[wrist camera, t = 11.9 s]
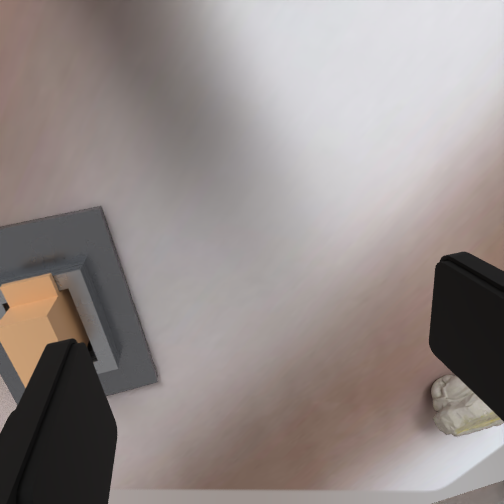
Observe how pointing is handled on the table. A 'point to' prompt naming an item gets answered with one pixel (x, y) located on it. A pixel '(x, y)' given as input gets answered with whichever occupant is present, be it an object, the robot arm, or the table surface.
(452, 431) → the fossil replica
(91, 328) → the pocket plate
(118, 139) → the table surface
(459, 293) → the robot arm
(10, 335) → the tabbed block
